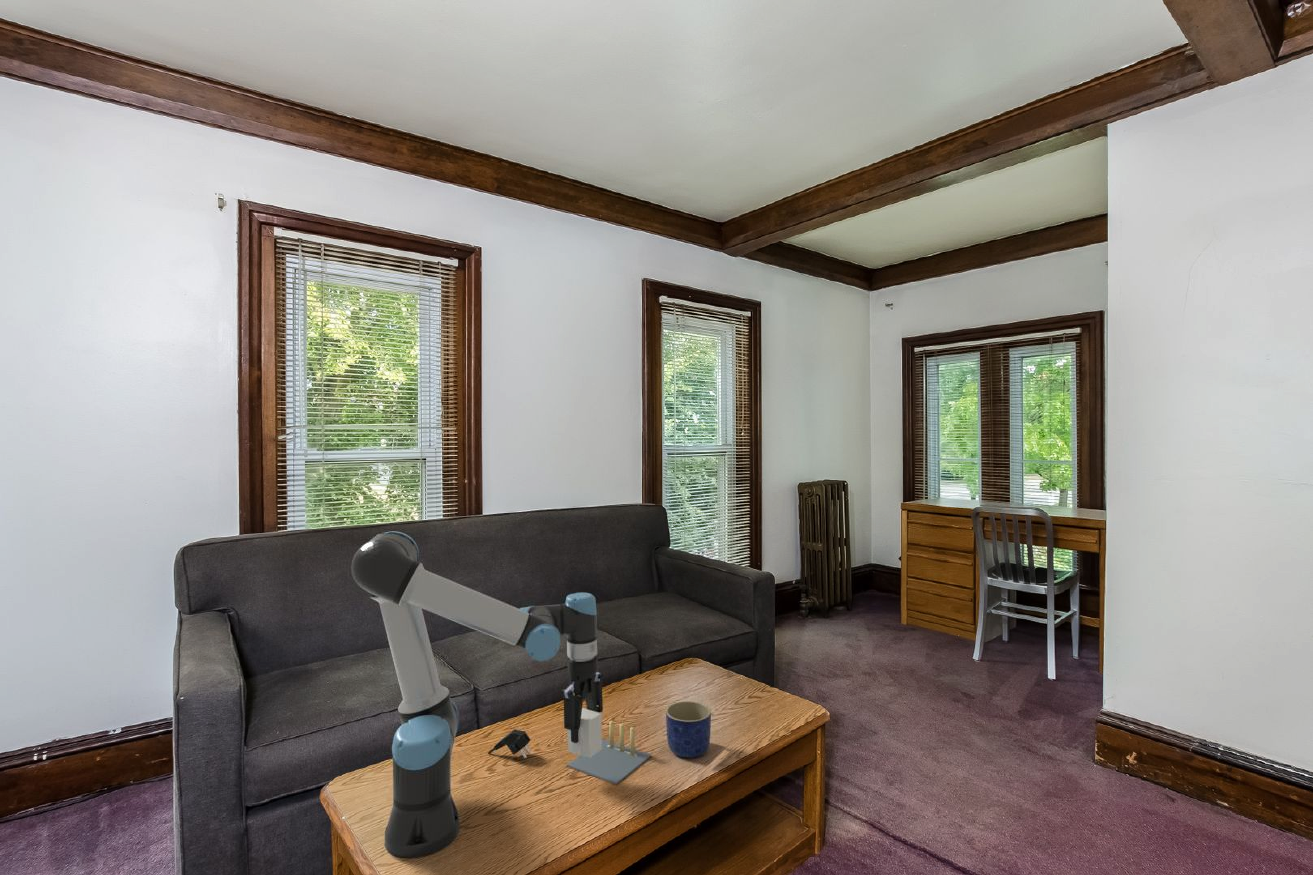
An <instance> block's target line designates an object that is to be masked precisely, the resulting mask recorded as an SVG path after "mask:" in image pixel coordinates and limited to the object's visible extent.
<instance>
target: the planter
mask: <svg viewBox="0 0 1313 875" xmlns="http://www.w3.org/2000/svg"><path fill="white" fill-rule="evenodd" d="M711 721H712V710H711V708H710V707H709V706H707V705H705V704H703V703H702V702H699V701H690V700H689V701H688V700H685V701H678V702H674V703H672V704H670V705H669V706H667V708H666V709H665V724H666V726H665V727H666V738H667V739H666V740H667V745H668V747H669V750H670V751H671V752H672V753H673V754H674V755H676V756H679V757H680V758H685V759H687V758H688V759H694V758H698V757H700V756H702V755H704V754H705V753H706V752H707V751H708V750H709V747H710V741H711V730H712V729H711V728H712V727H711V725H712V724H711V723H712V722H711Z"/></svg>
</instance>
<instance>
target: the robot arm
mask: <svg viewBox="0 0 1313 875" xmlns="http://www.w3.org/2000/svg"><path fill="white" fill-rule="evenodd" d="M419 554H420V553H419V547H418V545H417V542H415V540H414V539H413V538H412V537H411V536H410V535H408V534H406V533H404V532H401V531H393V530H392V531H387V532H381V533H379V534H377V535H376V536H373V537H372V538H371V539H370V540H369V541H368V542H366V543H364V544H363V545H361V546H360V547H359V549H358V550H357V551H356V552H355V554H354V555H353V558H352V561H351V567H350V568H351V575H352V578H353V580H354V581H355V583H356V585H358V587H360V588H361V589H363V590H364V591H366V592H367V593H368V595H369V598H370V599H372V600H374V601H376V602H378V604H379V608H380V612H381V616H382V620H383V624H384V628H385V632H386V636H387V641H388V645H389V648H390V652H391V656H392V660H393V664H394V668H395V672H396V673H395V674H396V676H397V680H398V684H399V688H400V692H401V697H402V700H401V702H400V704H399V705H398V707H397V708H398V709H397V711H398V713H399V719H400V722H401V725H400V726H399V728H397V729H396V731H395V733H394V736H393V739H392V740H393V741H392V745H391V752H392V754H391V755H392V782H393V783H392V786H393V787H392V788H393V790H392V791H393V792H392V796H393V797H392V800H393V801H392V802H393V804H392V808H391V812H390V814H389V819H388V823H387V825H386V828H385V829H384V830H385V831H384V847H385V850H386V851H387V853H388V854H391V855H392V856H394V857H397V858H402V859H414V858H421V857H425V856H428V855H431V854H434V853H436V852H438V851H440V850H442V849H444V848H446V847H447V846H448V845H449V844H451V843H452V842H453V841H454V840H455V839H456V837H457V835H458V834H459V831H460V816H459V815H460V814H459V811H458V809H457V807H456V803H455V800H454V798H453V796H452V792H451V789H452V788H451V782H452V781H451V779H452V778H451V764H452V763H451V762H452V761H451V760H452V753H453V749H454V743H455V739H456V735H457V732H458V730H459V725H460V723H459V722H460V717H459V716H460V715H459V711H458V708H457V705H456V704H455V702H454V701H453V700H452V699H451V695H450V691H449V689H448V687H445V686H443V685H441V682H440V677H439V674H438V670H437V666H436V665H437V664H436V662H435V658H434V657H435V656H434V653H433V650H432V645H431V642H430V637H429V633H428V628H427V624H426V622H425V617H424V613H423V610H425V611H427V612H429V613H433V614H435V615H437V616H440V617H442V618H445V619H447V620H450V621H452V622H455V623H457V624H460V625H462V626H465V627H468V628H469V629H472V630H476V631H478V632H480V633H482V634H484V635H485V634H486V635H487V636H491V637H492V638H495V639H498V640H500V641H503V642H505V643H508V644H510V645H511V646H515V647H518V648H520V649H522V650H525V651H526V653H527V654H528V655H529V656H530V657H531V658H532V659H533V660H535V661H538V662H545V661H549V660H550V659H552V658H554V656H556V655H557V653H558V652H559V651H560V646H561V636H565V635H566V656H567V657H568V658H567V673H568V674H569V676H570V680H569V686H567V688H563V689H562V690H561V694H562V697H563V727H564V729H566V730H567V729H568V730H571V742H572V752H571V753H572V754H573V755H577V756H578V757H579V756H582V755H583V750H582V728H580V721H581V713H582V708H583V704H584V701H585V705H586V709H588V710H591V711H595V712H598V713H602V712H603V711H604V708H603V707H604V706H603V704H604V703H603V678H604V674H603V673H602V672H599V664H598V663H599V661H598V660H599V659H598V658H599V657H598V656H597V655H598V642H597V641H598V640H597V639H598V626H597V625H598V617H597V615H598V612H597V602H596V601H597V600H596V597H595V596H594V595H593V594H592V593H589V592H575V593H570V594H568V595H567V596H566V598H565V603H559V604H549V605H547V604H545V605H530V606H527V607H526V606H525V607H520V608H518V607H516V606H513V605H510V604H508V603H505V602H504V601H501V600H500V599H499V600H498V599H497V598H493V597H491V596H489V595H486V594H484V593H482V592H479V591H477V590H475V589H473V588H470V587H468V586H465V585H462V584H460V583H457V582H455V581H453V580H451V579H448V578H446V577H443V576H441V575H438V574H436V573H433V572H431V571H428V570H426V569H425V568H424V566H423V563H422V562H419V557H420V555H419Z"/></svg>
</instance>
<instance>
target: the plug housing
mask: <svg viewBox="0 0 1313 875" xmlns="http://www.w3.org/2000/svg"><path fill="white" fill-rule="evenodd" d="M602 725H603V724H602V712H600V713H598V712H595V711H591V710H588V709H587V708H586V707H585V708H584V707H582V713H581V721H580V728H582V750H583V755H582V756H585V757H588V758H590V757H592V756H593V755H595V754H596V753H597V752H599V751H600V750H602V740H603V729H602V728H603V727H602ZM566 732H567V734H566V735H567V740H566V741H567V751H568V752H571V753H572V742H571V730H568V729H566Z"/></svg>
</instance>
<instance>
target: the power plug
mask: <svg viewBox="0 0 1313 875" xmlns="http://www.w3.org/2000/svg"><path fill="white" fill-rule="evenodd" d="M531 740H532V739H531V738H530V736H529V735H528V734H527V732H526V731H525V730H518V729H515V728H514V729H513V730H511V731H510V732H509V733H508V734H506V735H505V736H504V737H503V738H501V739H500V741H498V742H497V743H496V744H495V745H494V747H493V748H491V749H490V750H488V752H487V754H488V755H490V754H492V753H494V752H495V751H498V750H500V749H502V748H503V747H505V746H507V748H508V749H509V751H510V752H511V754H512V755H513V756H514V755H516V754H517V753H520V754H521V755H522V756H523V759H527V757H528V756H527V755H526V753H527V754H529V755H530V754H531V750H530V749H529V747H528V746H527V745H529V743H530V741H531ZM523 749H525V751H526V753H525V752H524V750H523Z"/></svg>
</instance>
